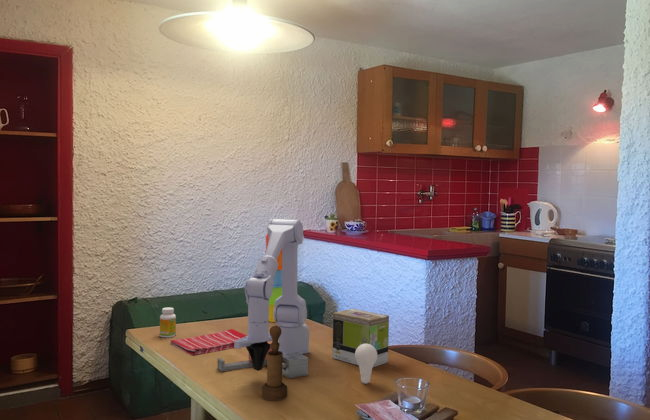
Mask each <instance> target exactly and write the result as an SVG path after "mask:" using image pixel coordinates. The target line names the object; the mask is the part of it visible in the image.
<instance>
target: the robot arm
mask: <svg viewBox="0 0 650 420" xmlns="http://www.w3.org/2000/svg"><path fill="white" fill-rule="evenodd" d="M266 229H267V230H266V231H267V234H268V237H269V242H268V246H267V249H266V248H265V251H266V252H265V253H264V255H262V256H261V257H260V258H259V259H258V262H257V264H256V266H255V269H254V271H253V274H252V276H251V277H250V278H248V279H247V280H246V281H245V285H244V296H245V298H246V300H245V302H246V304H247V308H248V310H247V334H246V335H247V336H246V337H243V338H241V339H238V340H235V341H234V347H235V348H234V349H238V350H240V349H242V348H244V347H245V348H246V350H247V352H248V355H249V354H250V356H251V360H252V363H253V370H255V371H261V370H262V369H263V363H264V359H265V357H266V354H267V352H268V351H269V349H270V344H269V343H268V341H269V342H271V341H272V337H271V335H270V328H269V327H270V325H269V323H270V322H269V299H270V297H271V295H272V292H273V284H274V281H273V278H274V276H275V273H276V270H277V268H278V262H277V261H276V260H277V258H278V256H279V254H280V252H281V250H282V296H280V297H279V298H277V299H276V301H275V306H274V311H273V318H274V320H275V322H274V323H276V326H279V327H280V328H281V335H280V337H279V339H278V343H279V344H280V346H279V350H278V351H281V352H282V353H283V354H289V353H296V352H299V353H301V354H302V355H304V354H310V352H311V351H310V331H309V330H310V329H309V327H308V325H307V324H306V321H307V317H308V309H307V305H306V304H307V303H306V300H305V299H304V298H303V297H301V296H300V294H298V254H299V253H298V251H299V250H298V248H299V245H301V244H303V240H304V226H303V222H302V221H301V220H300V219H287V218H286V219H284V218H283V219H282V218H281V219H279V218H271V219H270V220H269V221H268V223H267V228H266Z"/></svg>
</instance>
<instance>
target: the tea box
mask: <svg viewBox="0 0 650 420" xmlns="http://www.w3.org/2000/svg"><path fill="white" fill-rule="evenodd" d="M332 315H333V317H332V318H333V320H332V321H333V322H332V359H335V360H337V361H342V362H345V363H350V364H352V365H357V366H359V365H358V363H357V361H356V358H355V351H356V349H357V348H358V347H359V346H360V345H362V344H370V345H372V346H373V347H374V348H375V349H376V351H377V360H376V362H375V363H374V365H373V367H372V369H373V368H376V367H378V366H380V365H384V364H387V363H388V362H389V337H390V336H389V335H390V334H389V332H390V331H389V330H390V315H388V314H382V313H377V312H371V311H367V310H363V309H362V310H361V309H356V308H349V309H344V310H339V311H336V312H333V313H332Z"/></svg>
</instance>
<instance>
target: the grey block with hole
mask: <svg viewBox="0 0 650 420" xmlns="http://www.w3.org/2000/svg"><path fill="white" fill-rule="evenodd" d="M282 363H286V368H282V376H284V377H286V378H287V379H294V378H299V377H304V376H306V377H307V376H308V375H309V374H308V373H309V357H308V356H306V355H304V354H301V353H299V352H296V353H289V354H283V361H282Z"/></svg>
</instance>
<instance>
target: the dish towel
mask: <svg viewBox="0 0 650 420" xmlns="http://www.w3.org/2000/svg"><path fill="white" fill-rule="evenodd" d="M246 336H247V334H245V333H242V332H240V331H238V330H236V329H233V328H229V329H226V330H223V331H217V332H214V333H207V334H203V335H197V336H192V337H191V336H190V337H187V338H185V337H184V338H179V339H178V338H176V339H172V340H170V341H169V343H170V345H172V346H174V347H175V348H178V349H179V350H181V351H183V352H185V353H187V354H188V355H190V356H196V355H197V356H198V355H205V354H210V353H215V352H219V351H225V350H231V349H236V348H235V347H234V341H235V340H238V339H241V338H243V337H246Z"/></svg>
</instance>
